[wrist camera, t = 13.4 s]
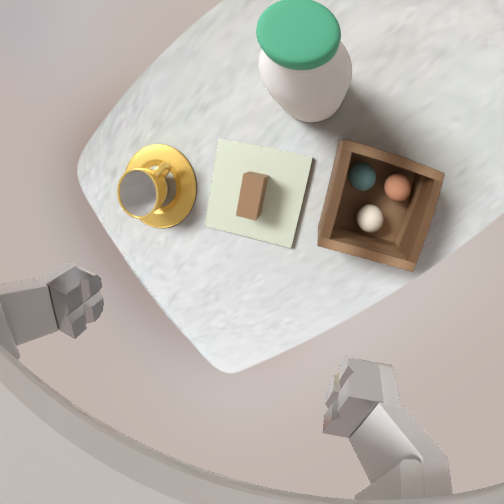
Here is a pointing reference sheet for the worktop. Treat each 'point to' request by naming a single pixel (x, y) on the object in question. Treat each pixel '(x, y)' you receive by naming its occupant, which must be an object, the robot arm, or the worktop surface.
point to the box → (394, 212)
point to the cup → (157, 186)
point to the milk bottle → (303, 59)
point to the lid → (257, 191)
